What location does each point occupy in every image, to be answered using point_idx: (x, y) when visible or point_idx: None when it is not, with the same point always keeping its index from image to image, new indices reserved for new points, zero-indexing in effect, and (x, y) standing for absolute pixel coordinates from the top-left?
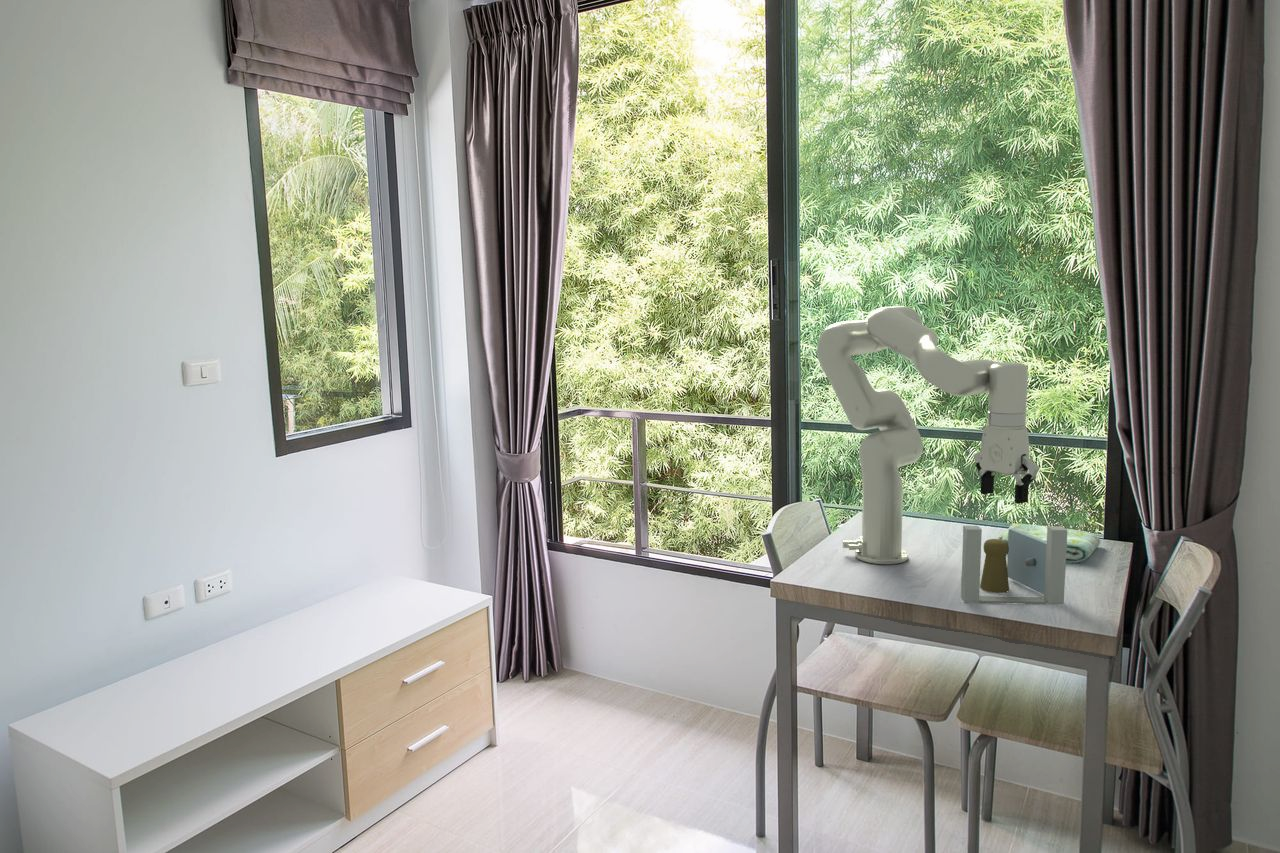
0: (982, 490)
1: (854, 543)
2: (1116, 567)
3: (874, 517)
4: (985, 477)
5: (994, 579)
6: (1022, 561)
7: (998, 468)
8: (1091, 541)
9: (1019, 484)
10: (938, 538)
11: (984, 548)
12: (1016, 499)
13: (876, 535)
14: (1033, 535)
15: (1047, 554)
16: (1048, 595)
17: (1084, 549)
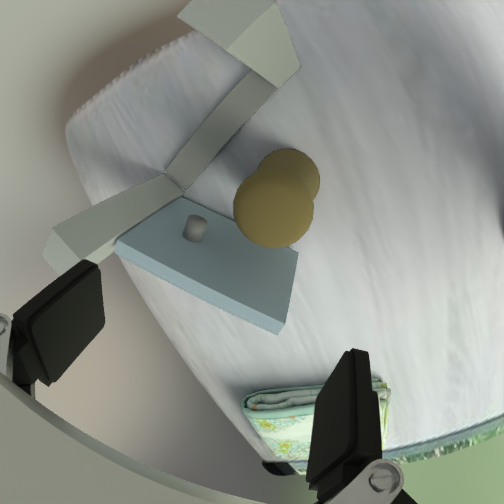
0: (355, 365)
1: None
2: (214, 397)
3: None
4: (339, 454)
5: (269, 159)
6: (237, 251)
7: (37, 461)
8: (261, 438)
9: (8, 324)
10: (480, 370)
11: (297, 177)
12: (74, 267)
13: None
14: None
15: (122, 218)
16: (158, 179)
17: (243, 409)
